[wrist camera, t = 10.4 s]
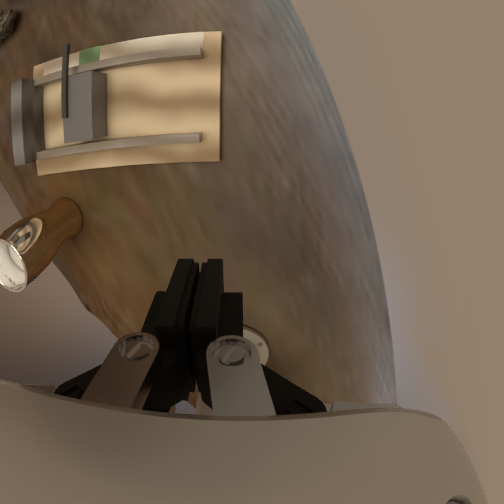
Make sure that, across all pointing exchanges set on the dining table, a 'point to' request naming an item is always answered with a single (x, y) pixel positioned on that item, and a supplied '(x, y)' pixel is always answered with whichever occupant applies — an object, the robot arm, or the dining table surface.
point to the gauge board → (127, 105)
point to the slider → (82, 103)
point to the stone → (6, 23)
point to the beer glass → (36, 243)
